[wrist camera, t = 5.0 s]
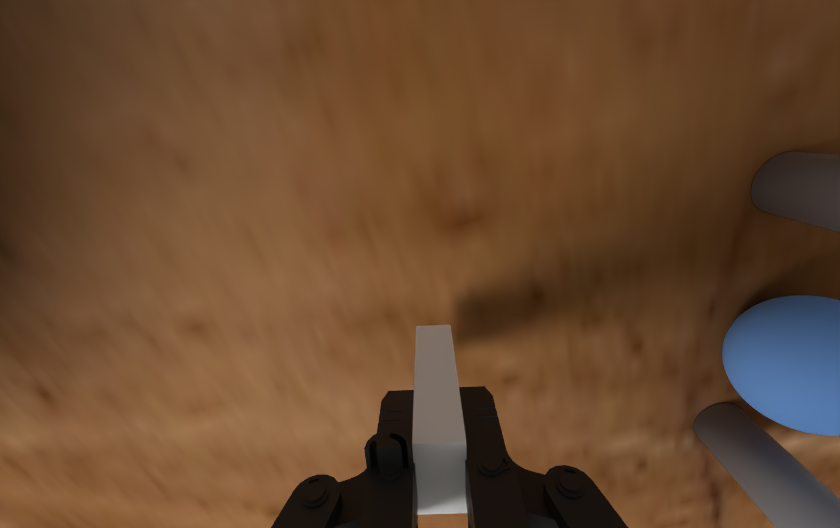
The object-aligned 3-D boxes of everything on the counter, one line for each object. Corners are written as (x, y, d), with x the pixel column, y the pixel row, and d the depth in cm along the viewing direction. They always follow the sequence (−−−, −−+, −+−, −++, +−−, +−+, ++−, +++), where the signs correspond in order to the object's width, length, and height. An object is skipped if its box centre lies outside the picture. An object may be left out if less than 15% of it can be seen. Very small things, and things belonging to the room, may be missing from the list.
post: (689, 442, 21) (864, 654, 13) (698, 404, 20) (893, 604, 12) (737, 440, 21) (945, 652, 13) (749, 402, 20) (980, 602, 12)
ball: (682, 382, 20) (790, 477, 14) (705, 280, 18) (840, 347, 12) (786, 371, 20) (929, 461, 15) (820, 270, 18) (999, 332, 13)
